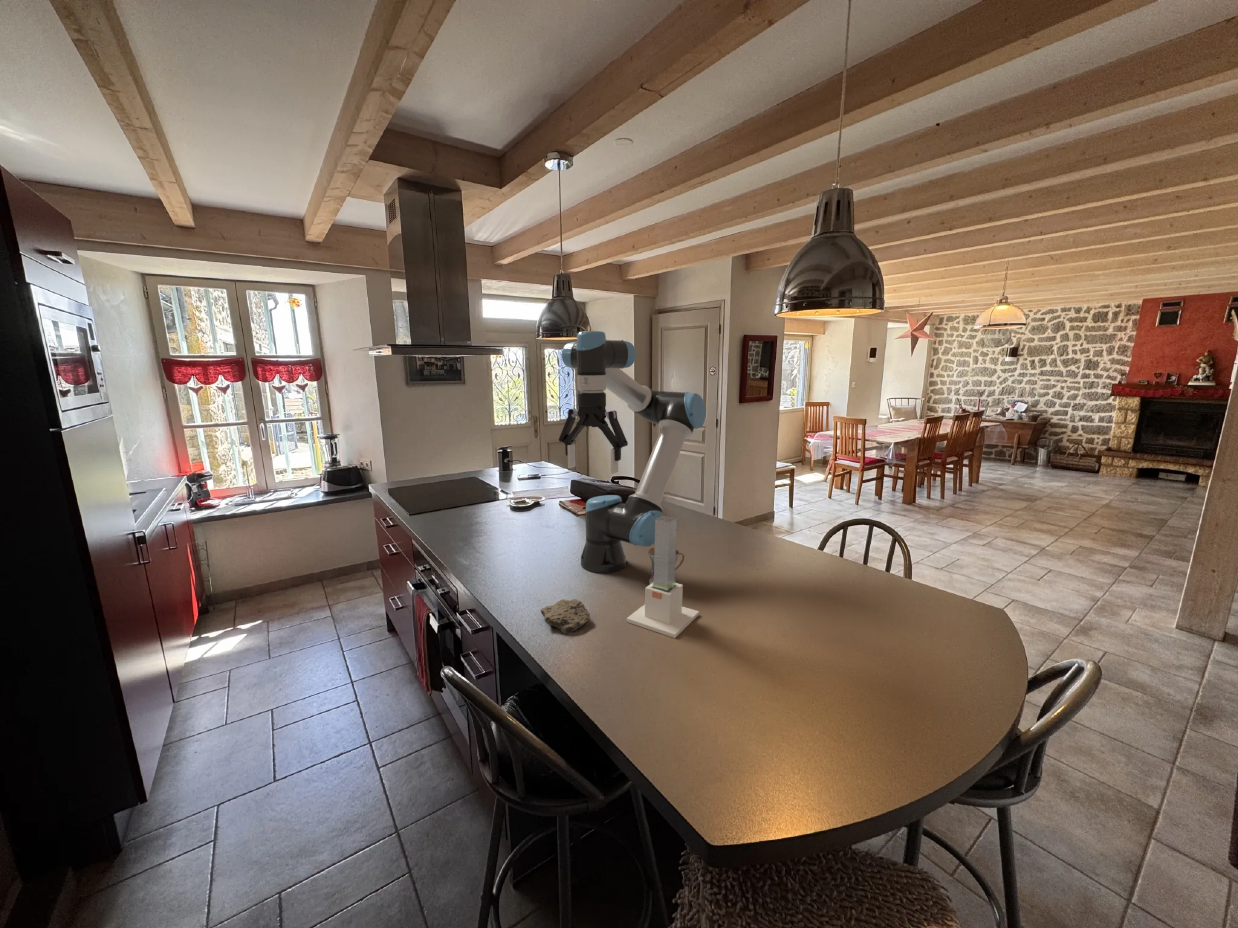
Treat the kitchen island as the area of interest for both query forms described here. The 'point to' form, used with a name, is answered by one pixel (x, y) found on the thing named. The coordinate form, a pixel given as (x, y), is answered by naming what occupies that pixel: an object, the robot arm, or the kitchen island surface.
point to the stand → (663, 612)
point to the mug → (651, 554)
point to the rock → (566, 615)
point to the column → (665, 553)
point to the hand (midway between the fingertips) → (592, 470)
